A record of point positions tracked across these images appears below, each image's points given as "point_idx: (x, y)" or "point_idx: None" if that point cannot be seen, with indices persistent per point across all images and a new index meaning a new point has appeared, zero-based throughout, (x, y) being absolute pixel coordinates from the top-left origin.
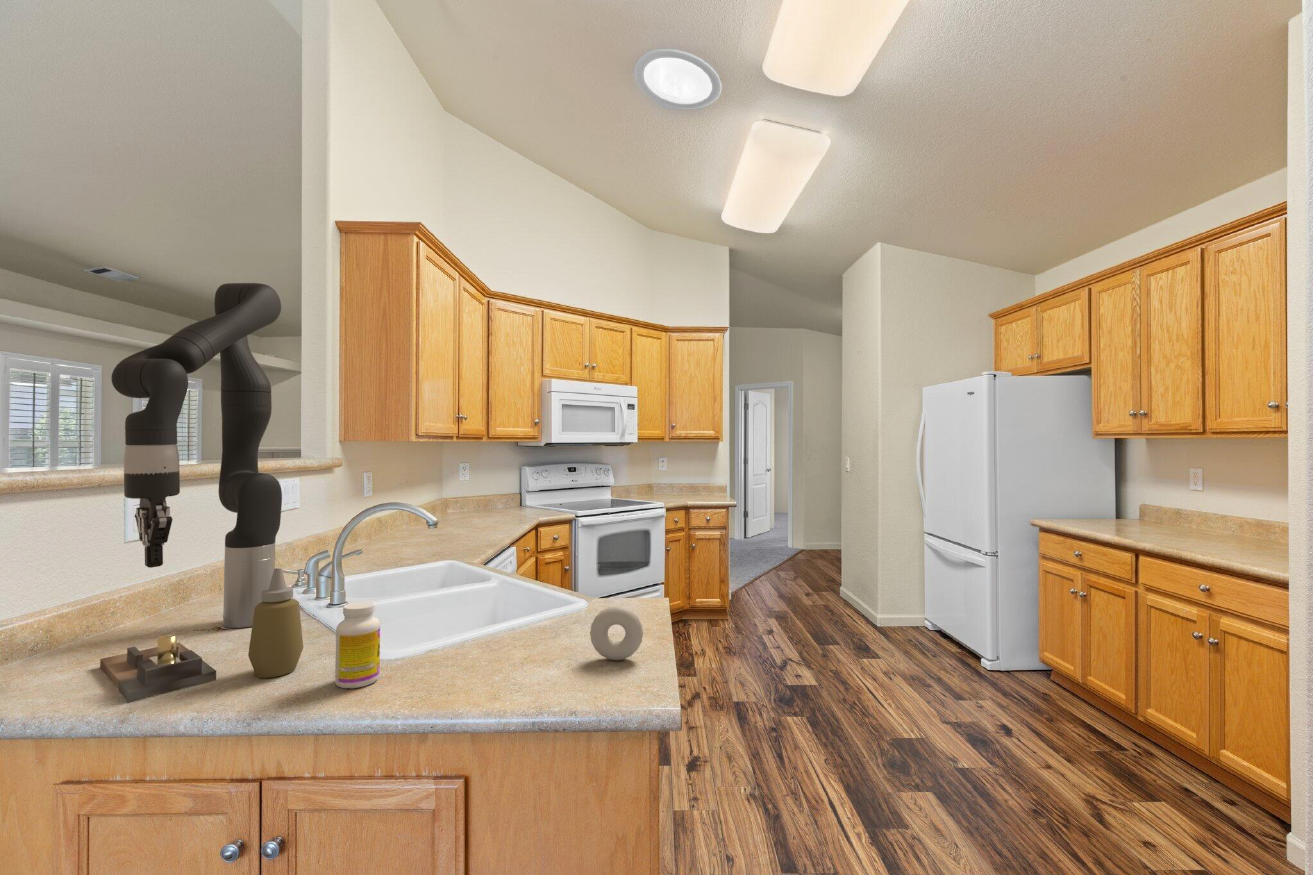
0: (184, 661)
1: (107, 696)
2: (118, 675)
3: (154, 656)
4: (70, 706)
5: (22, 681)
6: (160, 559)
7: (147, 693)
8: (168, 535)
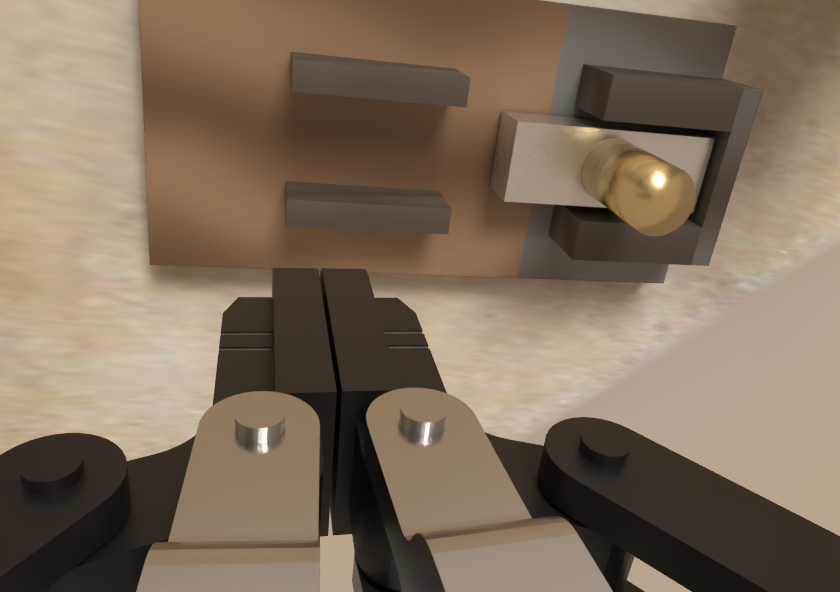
0: (735, 148)
1: (534, 296)
2: (454, 266)
3: (507, 182)
4: (526, 372)
5: (123, 435)
6: (413, 324)
7: None
8: (766, 500)
